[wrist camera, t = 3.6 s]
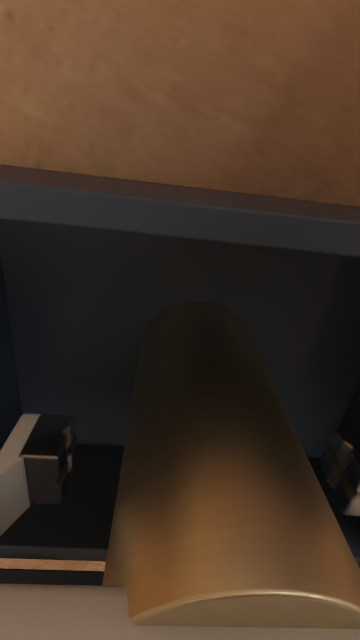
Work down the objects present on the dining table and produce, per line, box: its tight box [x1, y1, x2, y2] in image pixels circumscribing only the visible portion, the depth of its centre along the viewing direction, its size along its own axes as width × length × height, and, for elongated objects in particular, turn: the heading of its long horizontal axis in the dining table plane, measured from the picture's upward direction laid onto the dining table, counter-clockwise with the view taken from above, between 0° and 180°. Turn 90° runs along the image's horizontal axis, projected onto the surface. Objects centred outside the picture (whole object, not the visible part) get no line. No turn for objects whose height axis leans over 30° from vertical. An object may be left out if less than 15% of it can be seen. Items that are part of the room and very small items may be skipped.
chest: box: [0, 165, 360, 569], centre depth 12 cm, size 14×18×6 cm
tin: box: [102, 303, 360, 629], centre depth 10 cm, size 5×5×10 cm
